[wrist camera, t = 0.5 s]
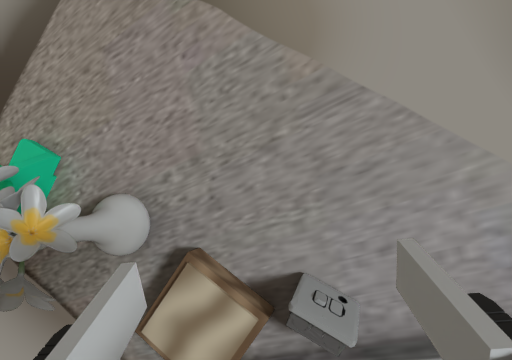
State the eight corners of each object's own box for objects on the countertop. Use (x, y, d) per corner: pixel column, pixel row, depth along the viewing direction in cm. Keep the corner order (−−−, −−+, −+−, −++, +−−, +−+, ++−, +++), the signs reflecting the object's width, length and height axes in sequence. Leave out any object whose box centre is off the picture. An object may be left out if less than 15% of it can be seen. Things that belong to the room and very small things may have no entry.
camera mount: (35, 139, 56) (-28, 126, 46) (66, 158, 55) (7, 148, 45) (7, 198, 57) (-61, 198, 47) (37, 219, 55) (-28, 223, 45)
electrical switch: (360, 302, 42) (363, 332, 34) (344, 331, 43) (344, 367, 35) (304, 270, 44) (294, 292, 36) (289, 298, 45) (277, 325, 37)
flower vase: (111, 157, 52) (-79, 120, 28) (194, 223, 48) (56, 246, 24) (71, 221, 53) (-147, 238, 29) (149, 291, 49) (-28, 380, 25)
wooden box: (274, 308, 45) (268, 319, 40) (220, 384, 46) (208, 404, 41) (199, 247, 48) (186, 252, 43) (150, 320, 49) (132, 332, 44)
